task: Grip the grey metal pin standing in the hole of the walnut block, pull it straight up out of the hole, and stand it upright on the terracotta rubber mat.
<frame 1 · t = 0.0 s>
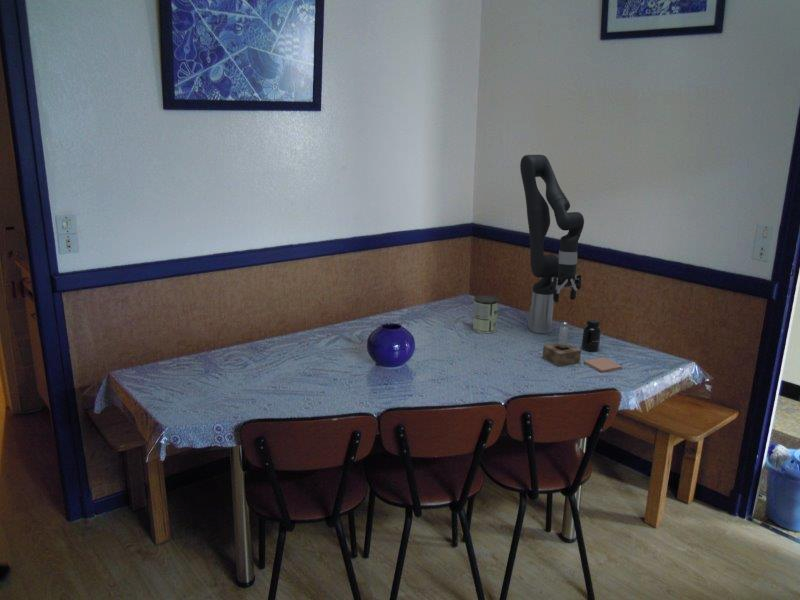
hand: (564, 300, 282), 17 cm above the table, tool pointing down, fingers open, 8 cm apart
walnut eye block: (560, 360, 266), on the table
supplement bottle: (589, 349, 278), on the table
metal pin: (562, 341, 263), in the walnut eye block
coffee can: (484, 329, 297), on the table
terracotta mat: (602, 366, 261), on the table
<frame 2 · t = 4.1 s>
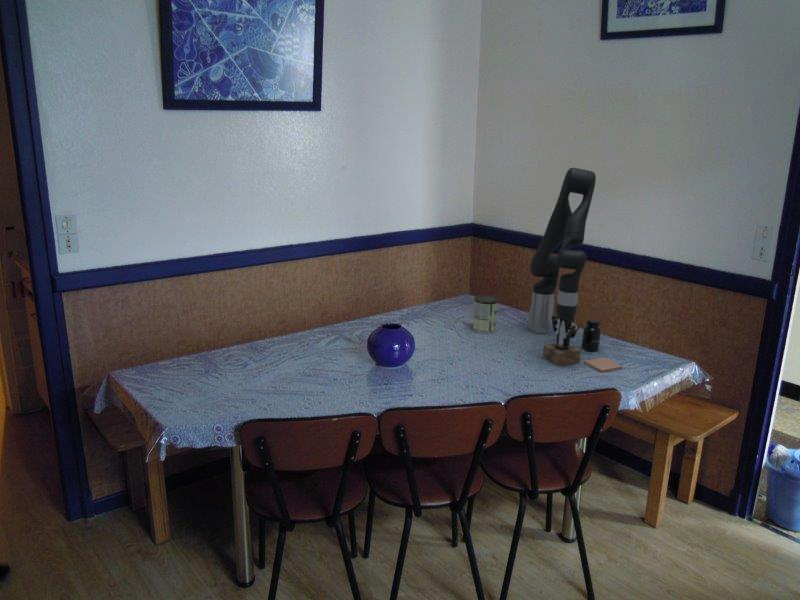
hand: (562, 345, 264), 6 cm above the table, tool pointing down, fingers closed on metal pin, 3 cm apart
metal pin: (562, 341, 263), in the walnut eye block, touching gripper
everything else where it was.
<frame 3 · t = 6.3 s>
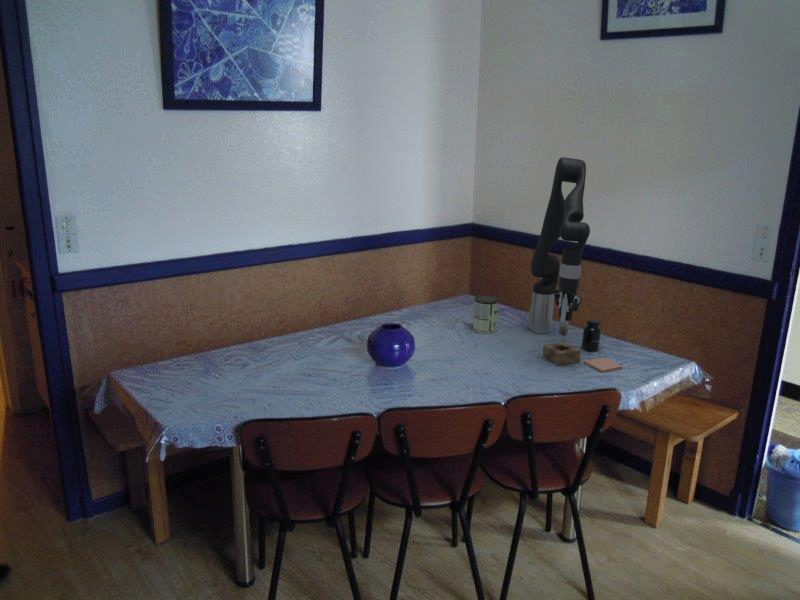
hand: (564, 318, 261), 17 cm above the table, tool pointing down, fingers closed on metal pin, 3 cm apart
metal pin: (565, 314, 260), point 18 cm above the table, touching gripper
everything else where it was.
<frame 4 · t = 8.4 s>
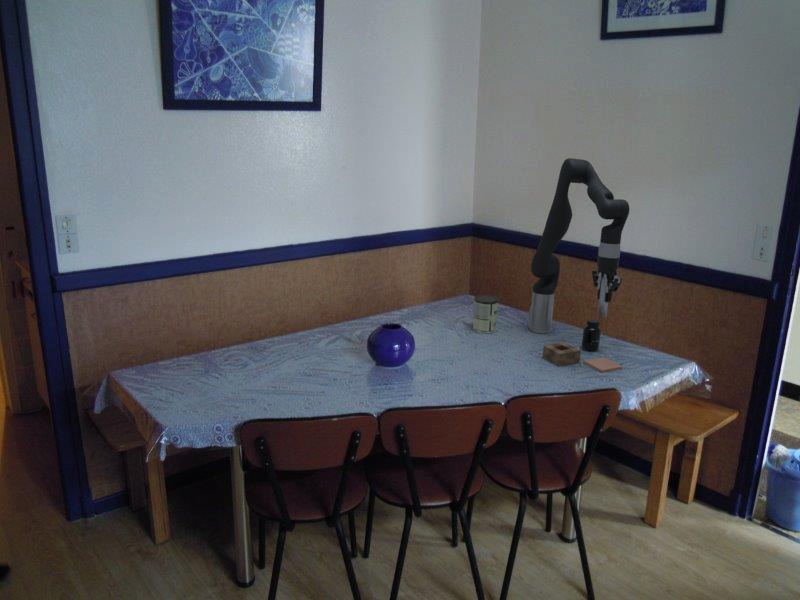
hand: (604, 300, 254), 26 cm above the table, tool pointing down, fingers closed on metal pin, 3 cm apart
metal pin: (604, 296, 253), point 27 cm above the table, touching gripper
everything else where it was.
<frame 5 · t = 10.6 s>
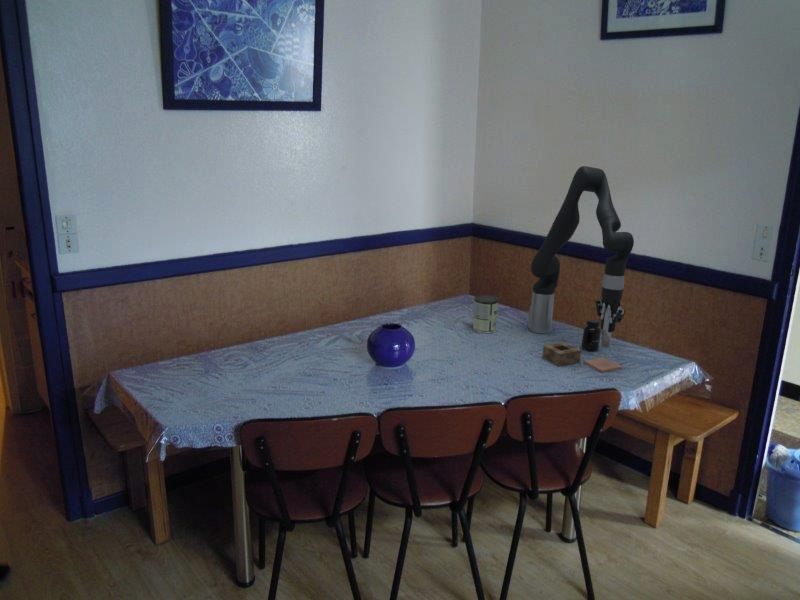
hand: (607, 330, 257), 14 cm above the table, tool pointing down, fingers closed on metal pin, 3 cm apart
metal pin: (607, 326, 257), point 16 cm above the table, touching gripper
everything else where it was.
when the fingers open (9 cm above the table, at t = 12.4 s): metal pin drops 2 cm, resting on terracotta mat.
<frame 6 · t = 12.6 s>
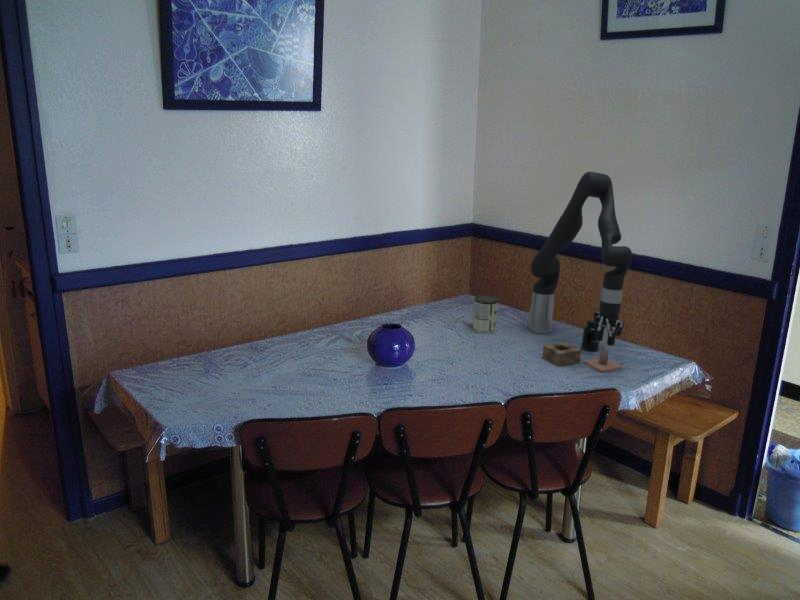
hand: (605, 342, 258), 9 cm above the table, tool pointing down, fingers open, 5 cm apart
metal pin: (606, 344, 259), on the terracotta mat, point 9 cm above the table
everything else where it was.
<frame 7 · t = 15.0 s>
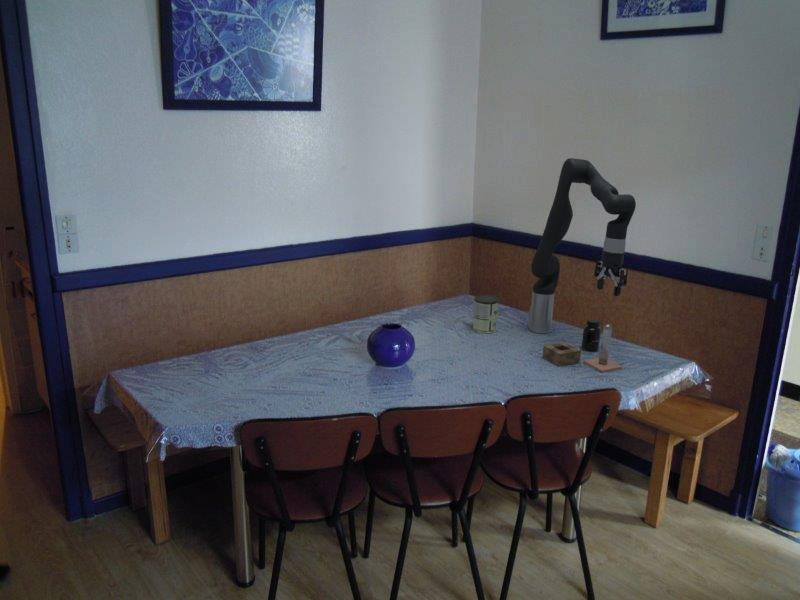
hand: (608, 292, 254), 29 cm above the table, tool pointing down, fingers open, 8 cm apart
nothing on the table moved.
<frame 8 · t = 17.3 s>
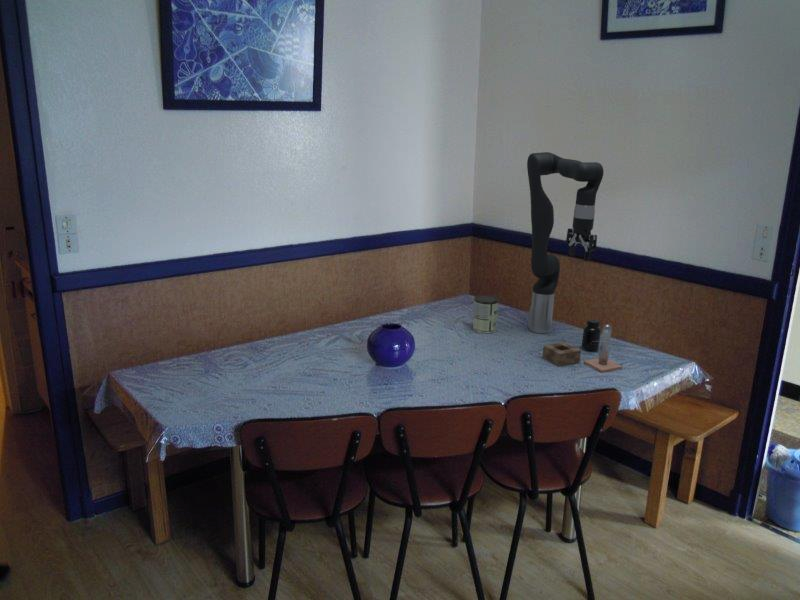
hand: (579, 258, 263), 38 cm above the table, tool pointing down, fingers open, 8 cm apart
nothing on the table moved.
at the end: metal pin inside the target area (0.1 cm from its centre), point 8.8 cm above the table; metal pin tilted 0°; metal pin touching terracotta mat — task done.
